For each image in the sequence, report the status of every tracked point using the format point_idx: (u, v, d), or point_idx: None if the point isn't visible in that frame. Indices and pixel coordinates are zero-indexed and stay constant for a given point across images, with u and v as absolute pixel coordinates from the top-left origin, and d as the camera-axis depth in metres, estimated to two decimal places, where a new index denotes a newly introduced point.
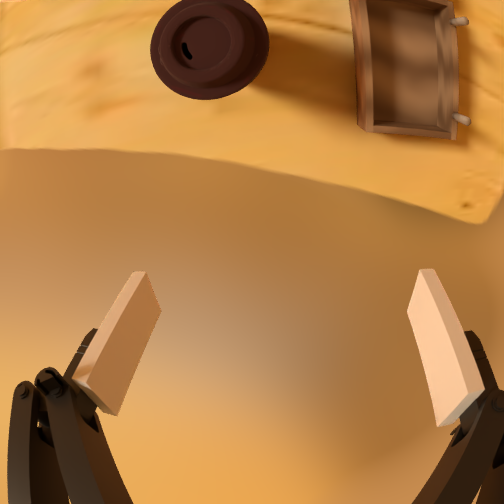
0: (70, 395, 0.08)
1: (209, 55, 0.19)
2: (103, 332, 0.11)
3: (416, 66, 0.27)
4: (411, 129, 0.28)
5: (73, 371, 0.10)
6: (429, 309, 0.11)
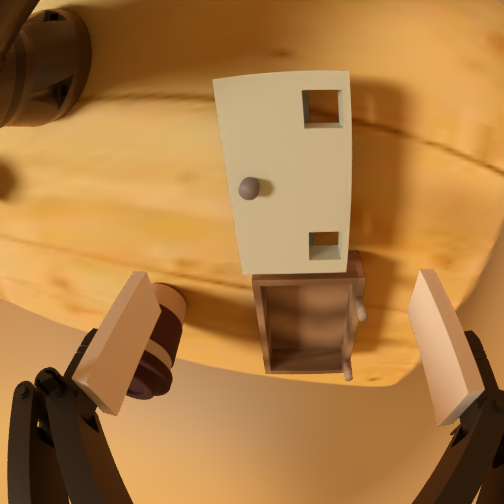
0: (70, 395, 0.08)
1: (134, 387, 0.31)
2: (103, 332, 0.11)
3: (322, 313, 0.39)
4: (303, 371, 0.40)
5: (73, 371, 0.10)
6: (429, 309, 0.11)
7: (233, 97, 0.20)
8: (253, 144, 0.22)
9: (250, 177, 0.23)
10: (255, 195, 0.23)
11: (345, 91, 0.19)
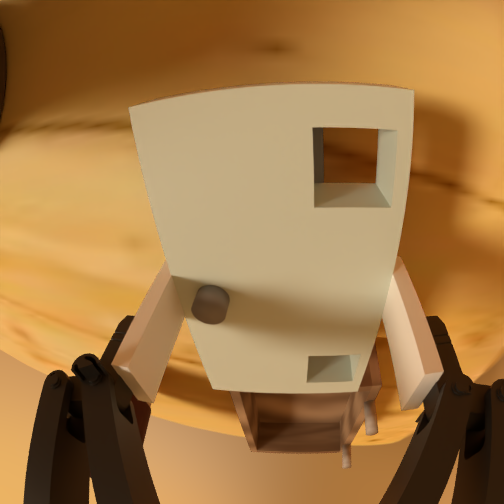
0: (109, 384, 0.09)
1: None
2: (142, 317, 0.11)
3: (320, 397, 0.29)
4: (295, 452, 0.30)
5: (109, 359, 0.10)
6: (393, 295, 0.12)
7: (170, 143, 0.10)
8: (214, 234, 0.12)
9: (211, 286, 0.13)
10: (220, 318, 0.13)
11: (403, 134, 0.09)
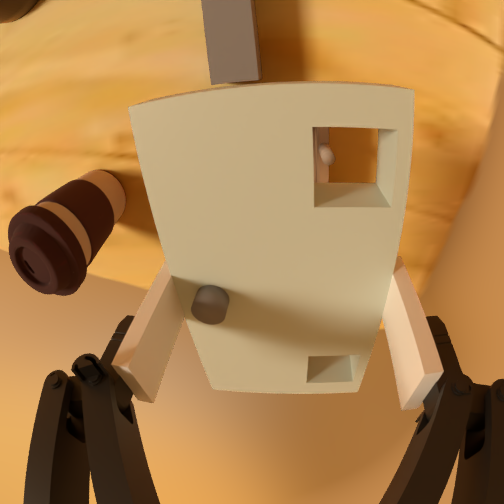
0: (109, 384, 0.09)
1: (42, 273, 0.23)
2: (142, 317, 0.11)
3: None
4: None
5: (109, 359, 0.10)
6: (393, 295, 0.12)
7: (170, 143, 0.10)
8: (213, 233, 0.12)
9: (211, 286, 0.13)
10: (220, 318, 0.13)
11: (403, 133, 0.09)
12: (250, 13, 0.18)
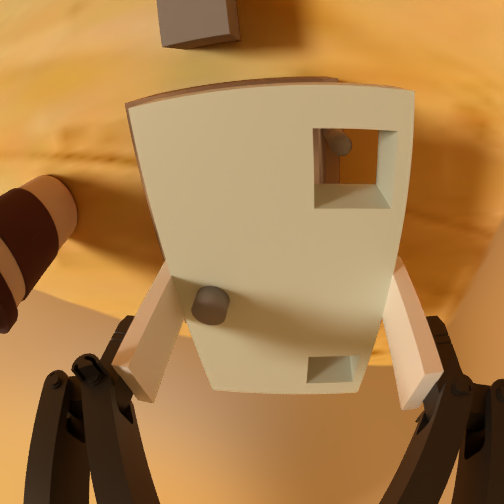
0: (109, 384, 0.09)
1: None
2: (142, 317, 0.11)
3: None
4: None
5: (109, 359, 0.10)
6: (393, 295, 0.12)
7: (170, 144, 0.10)
8: (214, 235, 0.12)
9: (211, 287, 0.13)
10: (220, 319, 0.13)
11: (403, 135, 0.09)
12: None
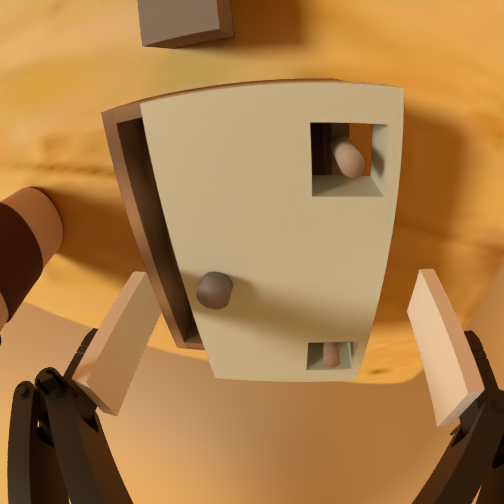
0: (70, 395, 0.08)
1: None
2: (103, 332, 0.11)
3: None
4: None
5: (73, 372, 0.10)
6: (429, 309, 0.11)
7: (179, 137, 0.11)
8: (218, 222, 0.13)
9: (215, 273, 0.14)
10: (224, 303, 0.14)
11: (394, 128, 0.10)
12: None
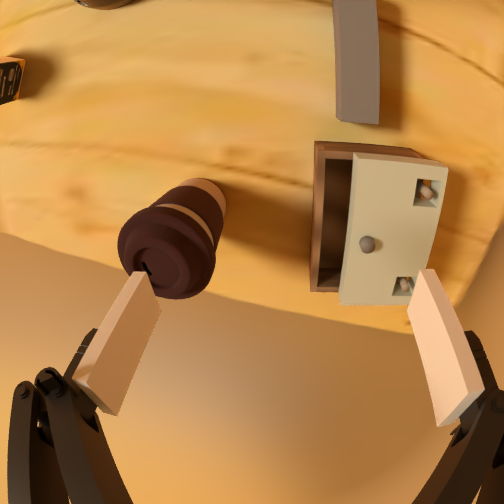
0: (70, 395, 0.08)
1: (164, 276, 0.27)
2: (103, 332, 0.11)
3: None
4: None
5: (73, 371, 0.10)
6: (429, 309, 0.11)
7: (371, 176, 0.26)
8: (376, 213, 0.28)
9: (368, 236, 0.30)
10: (372, 250, 0.29)
11: (443, 182, 0.25)
12: (378, 67, 0.23)
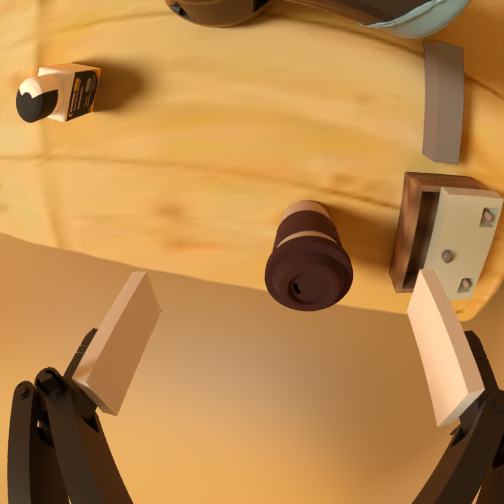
0: (70, 395, 0.08)
1: (313, 294, 0.32)
2: (103, 332, 0.11)
3: None
4: None
5: (73, 372, 0.10)
6: (429, 309, 0.11)
7: (455, 207, 0.31)
8: (455, 233, 0.33)
9: (448, 250, 0.34)
10: (451, 260, 0.34)
11: (499, 209, 0.30)
12: (462, 119, 0.28)
